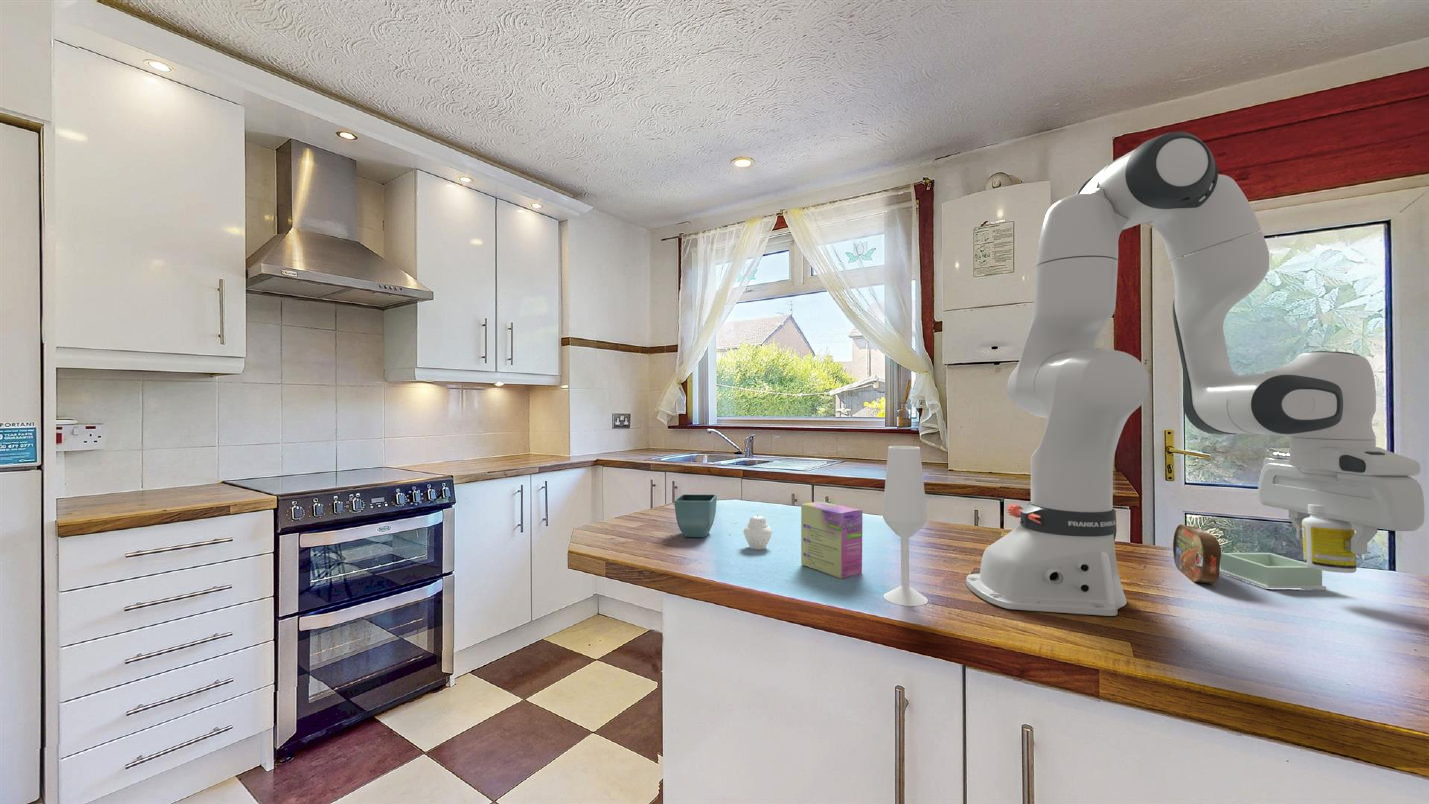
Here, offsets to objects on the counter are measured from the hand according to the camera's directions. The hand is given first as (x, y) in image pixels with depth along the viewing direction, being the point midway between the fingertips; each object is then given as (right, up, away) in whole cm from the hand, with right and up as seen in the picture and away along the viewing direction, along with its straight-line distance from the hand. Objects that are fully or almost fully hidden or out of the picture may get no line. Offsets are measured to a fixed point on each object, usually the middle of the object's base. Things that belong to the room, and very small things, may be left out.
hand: (1330, 546), depth 84 cm
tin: (-10, -9, +12) cm, 18 cm away
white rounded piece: (-85, -9, +33) cm, 92 cm away
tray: (0, -8, +9) cm, 12 cm away
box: (-73, -9, +18) cm, 76 cm away
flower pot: (-99, -9, +45) cm, 109 cm away
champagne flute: (-64, -9, +3) cm, 65 cm away
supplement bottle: (0, -4, 0) cm, 4 cm away
